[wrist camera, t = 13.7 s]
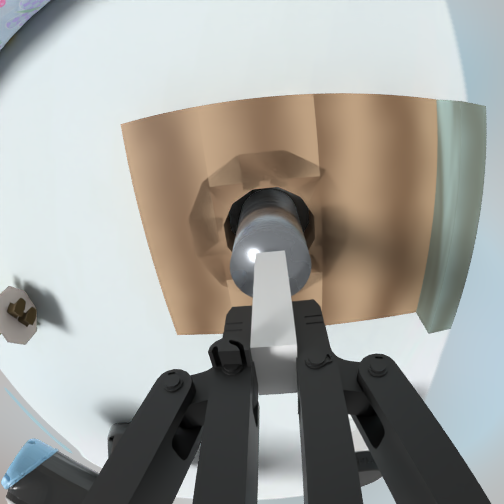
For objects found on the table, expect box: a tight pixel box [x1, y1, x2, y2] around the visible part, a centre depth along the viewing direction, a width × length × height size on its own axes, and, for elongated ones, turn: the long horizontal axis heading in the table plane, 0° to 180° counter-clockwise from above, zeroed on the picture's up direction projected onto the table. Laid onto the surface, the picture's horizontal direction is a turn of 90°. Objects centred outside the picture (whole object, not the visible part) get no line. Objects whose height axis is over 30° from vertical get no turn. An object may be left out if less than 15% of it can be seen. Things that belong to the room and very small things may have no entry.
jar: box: [348, 414, 382, 487], centre depth 29 cm, size 9×8×12 cm
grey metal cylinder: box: [230, 189, 311, 298], centre depth 20 cm, size 4×4×8 cm
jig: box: [121, 93, 486, 335], centre depth 20 cm, size 24×18×6 cm
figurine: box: [0, 286, 37, 345], centre depth 27 cm, size 9×7×15 cm
